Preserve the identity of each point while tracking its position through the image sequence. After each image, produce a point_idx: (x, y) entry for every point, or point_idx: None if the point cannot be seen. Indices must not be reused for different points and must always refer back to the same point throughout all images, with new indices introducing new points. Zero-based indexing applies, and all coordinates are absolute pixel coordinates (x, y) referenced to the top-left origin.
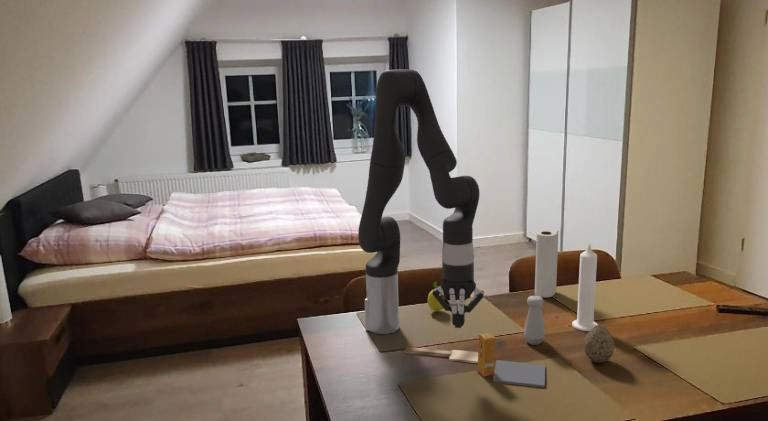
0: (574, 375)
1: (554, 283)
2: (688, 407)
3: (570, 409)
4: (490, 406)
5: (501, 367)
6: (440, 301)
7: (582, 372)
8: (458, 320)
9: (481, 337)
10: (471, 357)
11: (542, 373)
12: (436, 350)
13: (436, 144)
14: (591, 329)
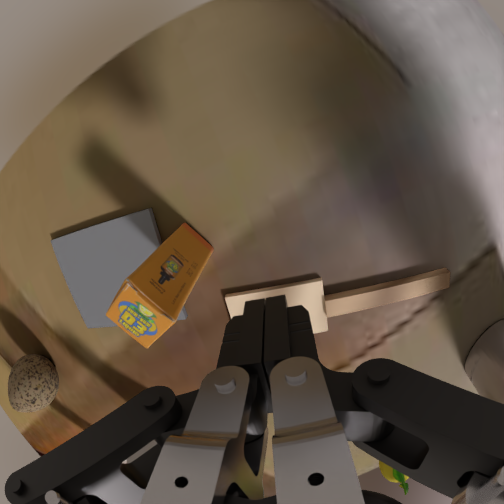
0: (44, 308)
1: None
2: None
3: (7, 182)
4: (119, 87)
5: None
6: (472, 411)
7: (42, 323)
8: (258, 327)
9: (154, 301)
10: None
11: (73, 290)
12: (370, 304)
13: None
14: (26, 404)
